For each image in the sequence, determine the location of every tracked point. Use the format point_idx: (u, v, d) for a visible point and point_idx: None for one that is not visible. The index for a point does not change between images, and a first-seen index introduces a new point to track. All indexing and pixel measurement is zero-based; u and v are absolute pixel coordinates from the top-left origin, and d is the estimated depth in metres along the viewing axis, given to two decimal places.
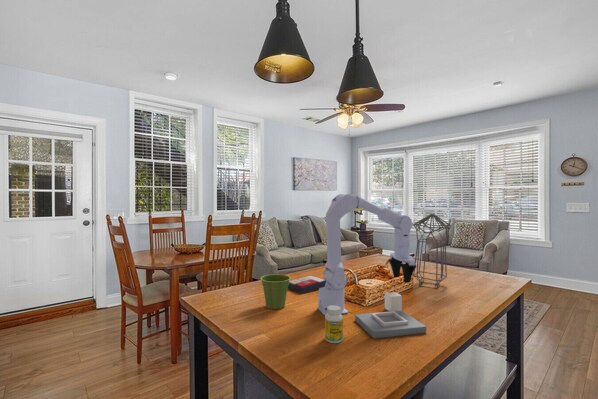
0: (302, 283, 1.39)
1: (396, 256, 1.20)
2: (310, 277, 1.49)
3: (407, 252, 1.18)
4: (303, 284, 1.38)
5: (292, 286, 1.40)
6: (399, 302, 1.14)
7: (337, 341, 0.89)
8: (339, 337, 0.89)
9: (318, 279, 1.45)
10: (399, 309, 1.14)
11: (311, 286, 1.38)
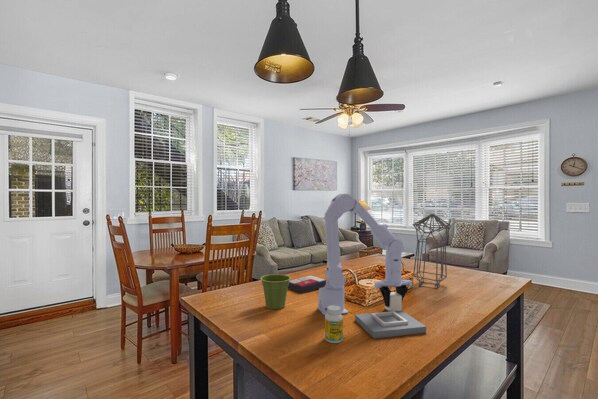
0: (302, 283, 1.40)
1: None
2: (310, 277, 1.49)
3: (387, 277, 1.14)
4: (303, 284, 1.38)
5: (292, 286, 1.40)
6: (399, 302, 1.14)
7: (337, 341, 0.89)
8: (339, 337, 0.89)
9: (318, 279, 1.45)
10: (399, 309, 1.14)
11: (311, 286, 1.39)
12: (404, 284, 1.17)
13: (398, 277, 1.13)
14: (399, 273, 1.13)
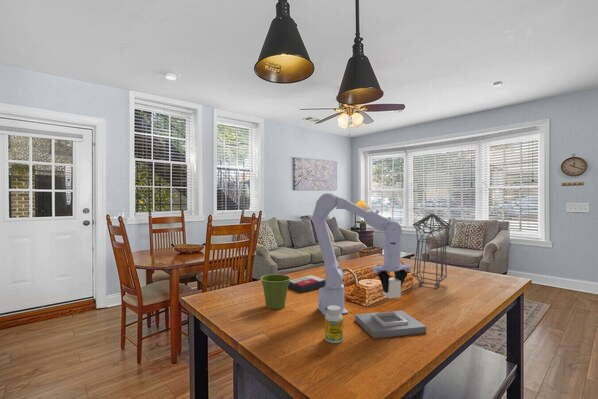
0: (302, 282, 1.40)
1: None
2: (310, 276, 1.50)
3: (386, 261, 1.09)
4: (303, 283, 1.39)
5: (292, 285, 1.41)
6: (398, 287, 1.09)
7: (337, 341, 0.89)
8: (339, 337, 0.89)
9: (318, 278, 1.46)
10: (398, 295, 1.09)
11: (311, 285, 1.39)
12: (403, 269, 1.11)
13: (397, 261, 1.08)
14: (398, 257, 1.08)
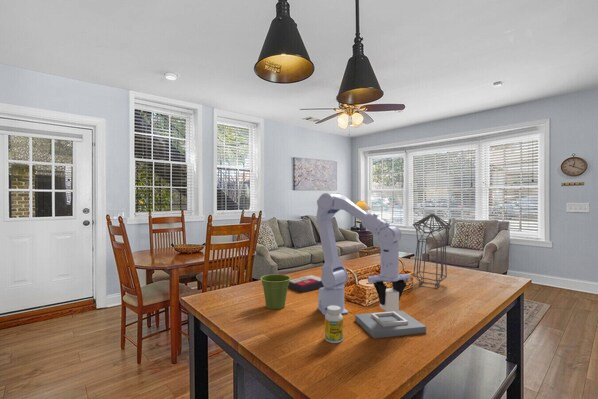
0: (302, 282, 1.41)
1: None
2: (310, 276, 1.50)
3: (383, 270, 1.00)
4: (303, 283, 1.39)
5: (292, 285, 1.41)
6: (396, 299, 0.99)
7: (337, 341, 0.89)
8: (339, 337, 0.89)
9: (318, 278, 1.46)
10: (396, 307, 0.99)
11: (311, 285, 1.39)
12: (402, 279, 1.02)
13: (395, 271, 0.98)
14: (396, 266, 0.99)
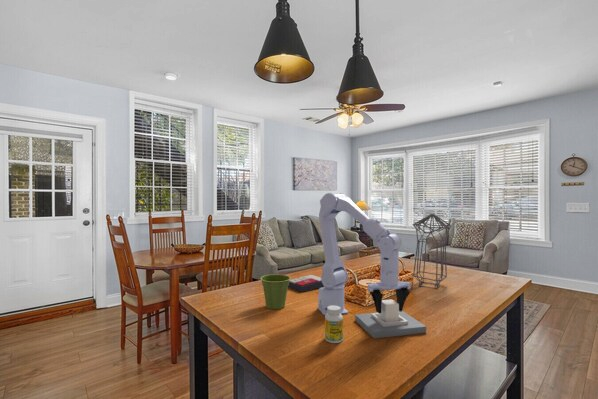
0: (302, 282, 1.41)
1: None
2: (310, 276, 1.50)
3: (383, 278, 1.00)
4: (303, 283, 1.39)
5: (292, 285, 1.42)
6: (396, 311, 0.99)
7: (337, 341, 0.89)
8: (339, 337, 0.89)
9: (318, 278, 1.47)
10: (396, 319, 0.99)
11: (311, 285, 1.40)
12: (402, 287, 1.02)
13: (395, 279, 0.98)
14: (396, 274, 0.99)
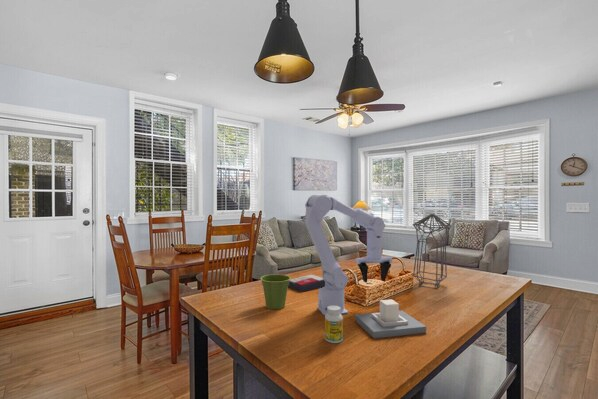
0: (302, 281, 1.42)
1: None
2: (310, 276, 1.51)
3: (368, 253, 1.19)
4: (303, 282, 1.40)
5: (292, 284, 1.42)
6: (396, 311, 0.99)
7: (337, 341, 0.89)
8: (339, 337, 0.89)
9: (318, 278, 1.47)
10: (396, 319, 0.99)
11: (311, 284, 1.40)
12: (385, 261, 1.21)
13: (378, 253, 1.18)
14: (379, 249, 1.18)
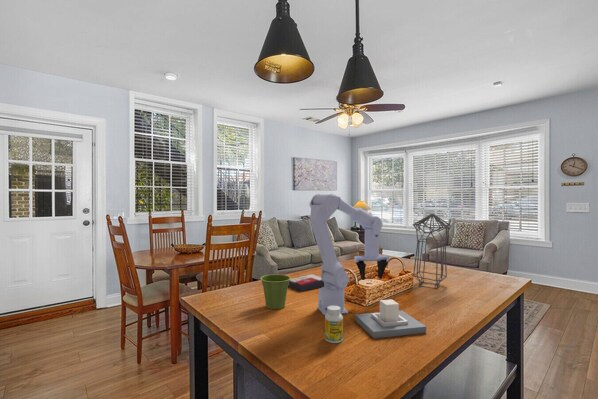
0: (302, 281, 1.42)
1: None
2: (310, 276, 1.51)
3: (366, 251, 1.23)
4: (303, 282, 1.40)
5: (292, 284, 1.43)
6: (396, 311, 0.99)
7: (337, 341, 0.89)
8: (339, 337, 0.89)
9: (318, 278, 1.48)
10: (396, 319, 0.99)
11: (311, 284, 1.41)
12: (382, 259, 1.25)
13: (376, 252, 1.22)
14: (377, 248, 1.22)
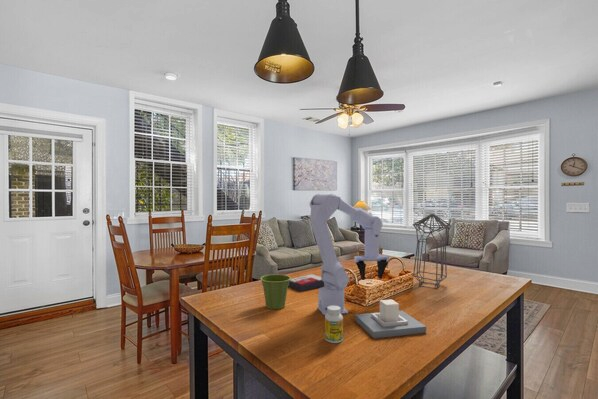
0: (302, 281, 1.42)
1: None
2: (310, 275, 1.52)
3: (366, 251, 1.23)
4: (303, 282, 1.41)
5: (292, 284, 1.43)
6: (396, 311, 0.99)
7: (337, 341, 0.89)
8: (339, 337, 0.89)
9: (318, 277, 1.48)
10: (396, 319, 0.99)
11: (311, 284, 1.41)
12: (382, 259, 1.25)
13: (376, 252, 1.22)
14: (377, 248, 1.22)
